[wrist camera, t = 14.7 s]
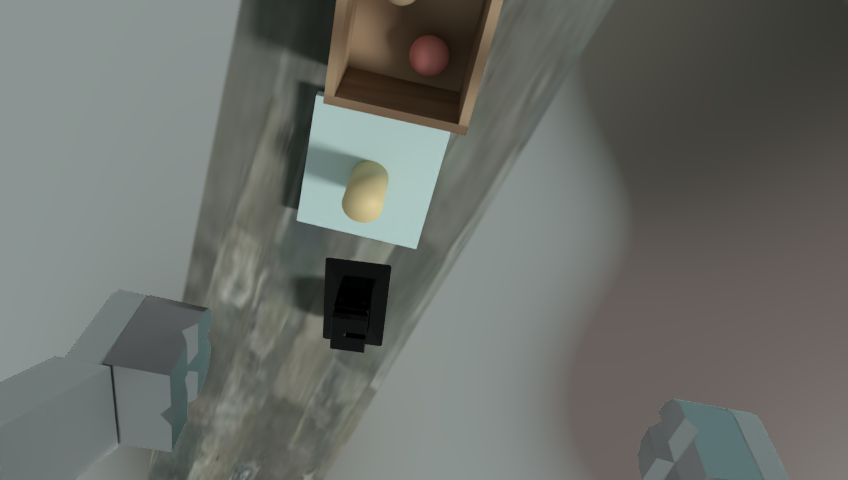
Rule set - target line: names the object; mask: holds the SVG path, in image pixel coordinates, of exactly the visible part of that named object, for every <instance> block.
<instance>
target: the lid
mask: <svg viewBox="0 0 848 480" xmlns="http://www.w3.org/2000/svg"><path fill="white" fill-rule="evenodd" d="M323 99H324V92H322V91H318V93H317V94H316V100H315V106H314V112H313V119H312V125H311V132H310V138H309V145H308V151H307V158H306V164H305V171H304V177H303V184H302V190H301V197H300V203H299V210H298V216H297V221H300V222H305V223H309V224H313V225H317V226H321V227H326V228H330V229H334V230H338V231H342V232H347V233H351V234H355V235H359V236H363V237H368V238H372V239H376V240H380V241H384V242H388V243H393V244H397V245H401V246H405V247H409V248H414V249H416V248H417V245H418V241H419V238H420V235H421V231H422V228H423V224H424V221H425V218H426V214H427V211H428V207H429V204H430V201H431V197H432V194H433V191H434V187H435V184H436V180H437V177H438V174H439V170H440V167H441V163H442V160H443V157H444V153H445V150H446V147H447V143H448V140H449V136H450V133H451V132H448V131H444V130H439V129H435V128H430V127H426V126H421V125H417V124H413V123H408V122H404V121H399V120H395V119H390V118H386V117H381V116H377V115H373V114H368V113H364V112H359V111H355V110H350V109H346V108H341V107H337V106H332V105H328V104H324V103H323Z"/></svg>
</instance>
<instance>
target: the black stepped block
mask: <svg viewBox="0 0 848 480" xmlns="http://www.w3.org/2000/svg"><path fill="white" fill-rule="evenodd" d="M390 273H391V266H390V265H384V264H376V263H367V262H359V261H351V260H343V259H335V258H326V267H325V295H324V323H323V338H325V339H331V340H330V348H332V349H339V350H347V351H355V352H362V353H364V349H365V345H366V344H369V345H376V346H381V345H382V339H383V331H384V322H385V314H386V306H387V298H388V289H389V281H390Z"/></svg>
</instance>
